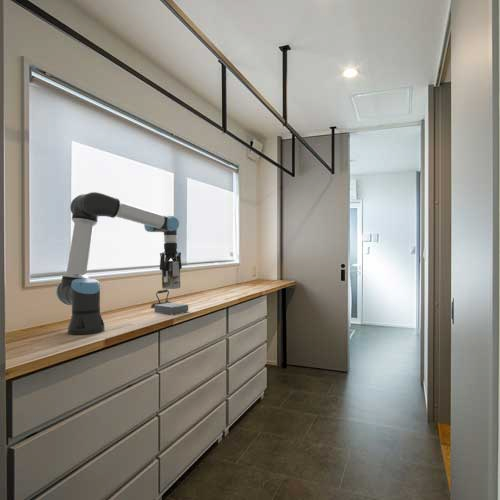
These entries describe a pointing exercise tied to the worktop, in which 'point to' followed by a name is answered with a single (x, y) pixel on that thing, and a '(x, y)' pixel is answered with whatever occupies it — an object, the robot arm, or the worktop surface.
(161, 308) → the plinth
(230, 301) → the worktop surface
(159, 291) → the clothes iron
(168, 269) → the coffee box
